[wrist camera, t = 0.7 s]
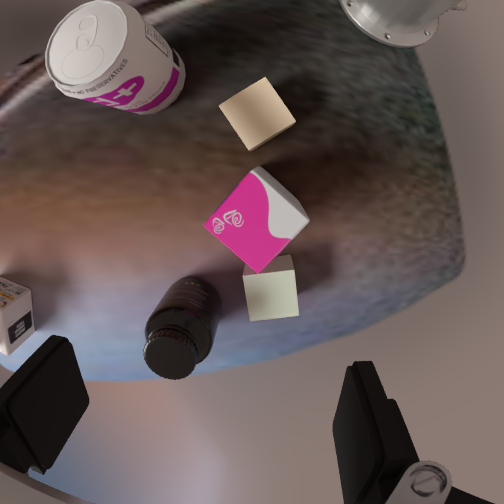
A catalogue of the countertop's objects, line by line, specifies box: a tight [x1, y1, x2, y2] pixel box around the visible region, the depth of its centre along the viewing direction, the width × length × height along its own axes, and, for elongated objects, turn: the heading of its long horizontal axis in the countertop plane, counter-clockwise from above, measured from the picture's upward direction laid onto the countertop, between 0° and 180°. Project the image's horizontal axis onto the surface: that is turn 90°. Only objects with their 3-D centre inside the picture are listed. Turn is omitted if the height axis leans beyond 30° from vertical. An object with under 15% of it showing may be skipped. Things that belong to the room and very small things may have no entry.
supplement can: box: [46, 0, 186, 115], centre depth 24 cm, size 8×8×15 cm
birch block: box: [219, 77, 296, 151], centre depth 30 cm, size 5×5×5 cm
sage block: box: [243, 255, 299, 321], centre depth 34 cm, size 5×5×5 cm
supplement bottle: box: [143, 278, 222, 380], centre depth 32 cm, size 7×7×12 cm
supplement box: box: [204, 166, 310, 274], centre depth 29 cm, size 6×6×12 cm
